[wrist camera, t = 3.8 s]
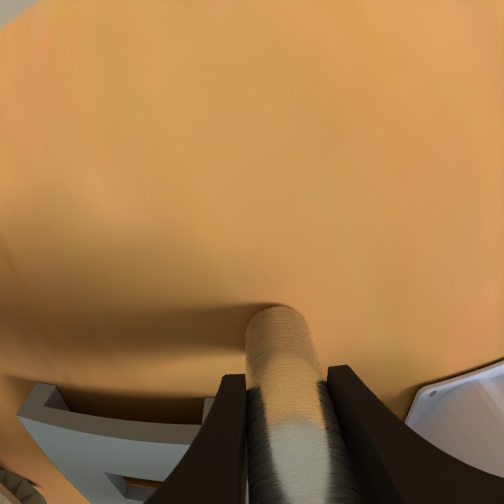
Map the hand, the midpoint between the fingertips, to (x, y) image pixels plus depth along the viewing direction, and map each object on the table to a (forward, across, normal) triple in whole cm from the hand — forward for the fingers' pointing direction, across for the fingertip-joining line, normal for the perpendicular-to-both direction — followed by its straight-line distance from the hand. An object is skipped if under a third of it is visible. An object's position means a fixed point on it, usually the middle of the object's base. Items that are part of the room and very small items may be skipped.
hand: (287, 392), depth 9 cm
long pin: (+3, 0, 0) cm, 3 cm away
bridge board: (+4, +8, +10) cm, 13 cm away
